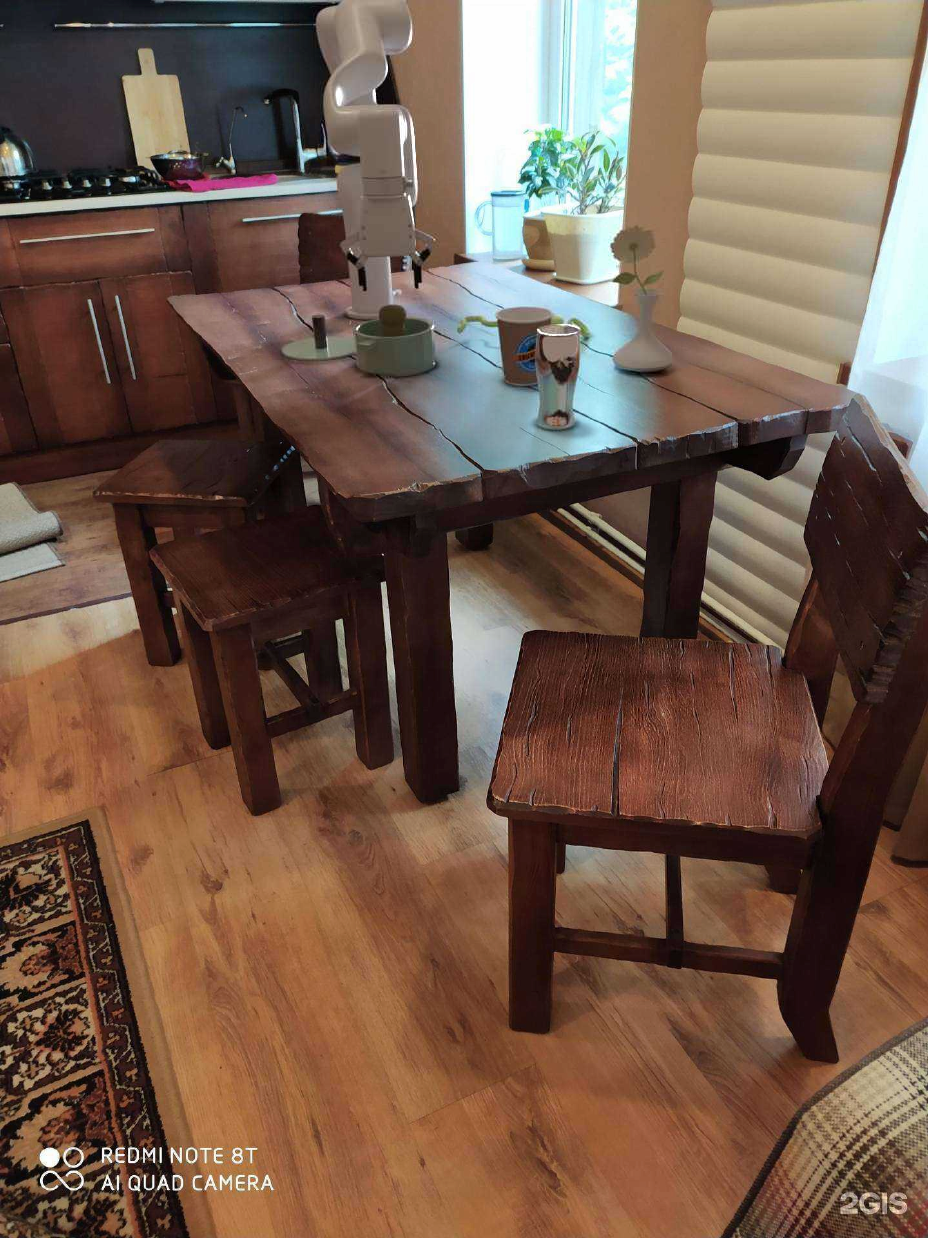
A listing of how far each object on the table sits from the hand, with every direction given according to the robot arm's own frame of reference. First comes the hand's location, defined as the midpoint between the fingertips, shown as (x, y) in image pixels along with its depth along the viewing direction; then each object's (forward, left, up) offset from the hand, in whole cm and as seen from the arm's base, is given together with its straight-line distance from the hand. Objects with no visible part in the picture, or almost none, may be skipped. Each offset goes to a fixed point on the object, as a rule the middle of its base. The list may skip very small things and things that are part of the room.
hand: (390, 288), depth 168 cm
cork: (0, 0, -14) cm, 14 cm away
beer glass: (+16, +42, -15) cm, 47 cm away
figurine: (-25, +15, -15) cm, 33 cm away
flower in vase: (-18, +43, -15) cm, 49 cm away
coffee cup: (-2, +27, -15) cm, 31 cm away
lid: (-1, -19, -14) cm, 24 cm away
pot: (0, 0, -14) cm, 14 cm away
